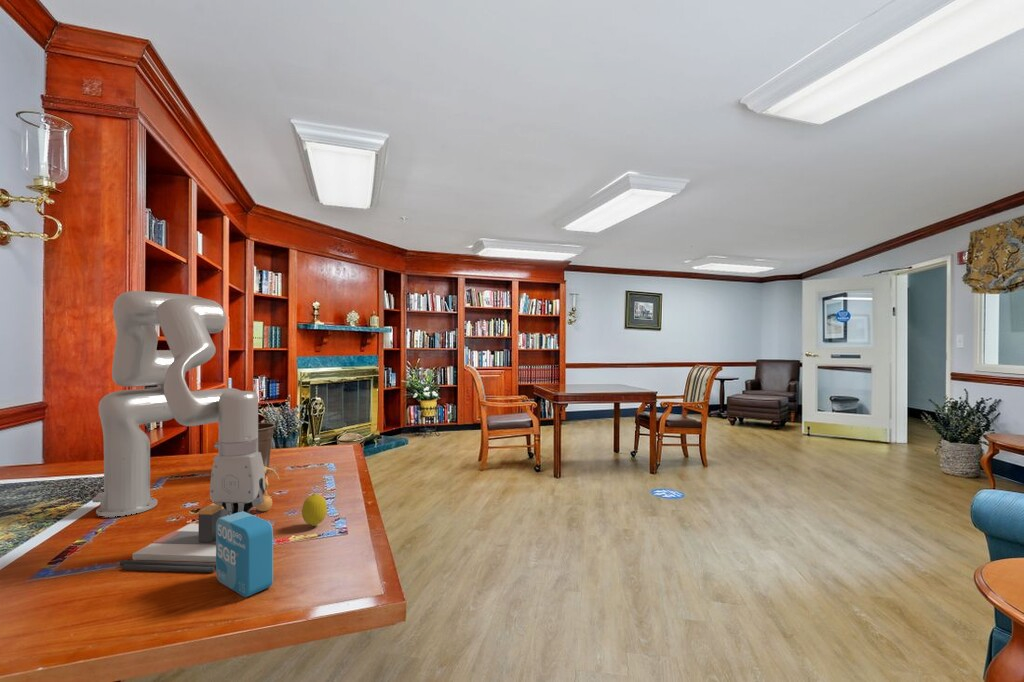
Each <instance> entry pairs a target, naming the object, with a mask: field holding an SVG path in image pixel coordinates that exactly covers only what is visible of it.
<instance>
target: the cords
mask: <svg viewBox="0 0 1024 682" xmlns="http://www.w3.org/2000/svg"><path fill="white" fill-rule="evenodd" d="M119 566H120V567H121V570H123V571H145V572H146V571H148V572H149V571H150V572H151V571H153V572H181V573H207V574H208V573H209V574H213V573H214V572H216V562H196V561H163V560H133V559H131V560H127V559H121V560H120V562H119Z"/></svg>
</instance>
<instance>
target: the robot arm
mask: <svg viewBox="0 0 1024 682" xmlns="http://www.w3.org/2000/svg"><path fill="white" fill-rule="evenodd" d="M112 316H113V321H114V325H115V329H116V330H115V331H116V339H115V344H114V351H113V359H112V366H111V379H112V381H113V383H115V384H116V385H117V386H120V387H124V388H126V387H127V388H133V389H124V390H116V391H113V392H110V393H108V394H105V395H103V397H102V398H101V399H100V401H99V403H98V415H99V419H100V424H101V427H102V435H103V437H102V438H103V439H102V440H103V492H98V493H97V494H96V496H93V498H92V499H91V501H92V503H100V504H99V507H98V508H96V511H95V514H97V515H98V517H99V516H105V517H104V518H108V517H109V518H118V517H117V516H121V517H125V515H127V516H132V515H136V513H137V514H139V513H143V512H147V511H149V510H151V509H153V508H155V507H156V506H157V505H158V499H157V498H154V497H151V443H150V442H151V441H150V437H149V436H148V435H147V434H146V433H145V432H144V431H143V430H142V429H141V428H140V425H145V424H154V423H159V422H160V423H162V422H166V421H170V420H172V419H175V421H176V422H177V423H178V424H179V425H182V426H184V427H194V426H201V425H209V424H213V423H214V424H215V423H218V441H217V442H215V443H214V445H213V447H214V449H217V450H218V454H216V455H214V459H213V463H212V467H211V473H210V483H209V499H210V500H211V501H212V502H213V503H214V504H216V505H219V506H223V507H224V508H225V509H226V510H227V516H228V515H231V514H235V513H238V512H242V511H244V512H246V513H249V512H250V511H251V509H253V507H255V508H256V506H259V505H261V504H263V503H264V499H263V496H264V495H265V487H266V485H265V477H266V475H265V473H264V465H263V460H262V456H261V453H260V452H258V423H259V395H257V393H256V392H254V391H252V390H241V389H238V388H234V387H231V388H230V387H226V388H211V389H203V390H201V389H200V390H192V391H191V390H190V389H189V387H188V384H187V381H186V379H185V378H186V373H187V372H188V371H191V370H193V369H195V368H197V367H200V366H201V365H204V364H205V363H207V362H208V361H210V360H211V359H212V358H214V356H215V354H216V351H217V350H216V348H217V347H216V346H215V344H214V342H213V340H212V338H211V334H218V333H220V332H222V331H223V329H225V326H226V324H227V314H226V311H225V310H224V308H223V306H222V305H221V304H220V303H218V301H215V300H212V299H208V298H204V297H202V296H201V297H200V296H197V295H193V294H192V295H191V294H184V293H183V294H182V293H169V292H161V291H147V290H146V291H145V290H133V291H132V290H131V291H125V292H123V293H121V294H119V295H118V296H117V297H116V298H115V301H114V302H113V309H112ZM154 326H157V327H158V326H159V327H160V329H161V331H162V334H163V336H164V338H165V341H166V343H167V345H168V348H169V349H166V350H165V349H163V350H162V349H159V350H158V349H157V347H158V342H159V335H158V333H157V332H158V331H157V330H156V328H155V327H154ZM151 386H152V387H153V386H157V387H153V388H152V387H151ZM134 387H138V388H136V389H134ZM139 387H150V388H139ZM131 514H132V515H131ZM97 515H96V516H97ZM115 516H116V517H115Z"/></svg>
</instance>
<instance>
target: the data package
mask: <svg viewBox="0 0 1024 682" xmlns="http://www.w3.org/2000/svg"><path fill="white" fill-rule="evenodd" d="M273 529H274V528H273V525H272V523H271V522H270V521H268V520H266V519H263V518H261V517H259V516H256V515H253V514H251V513H249V512H248V513H246V512H244V511H242V512H238V513H235V514H231V515H228V514H227V516H224V517H221V518H219V519H218V520H217V522H216V562H215V563H216V569H215V573H216V574H215V575H216V579H217V580H218V582H219V583H220V584H222V585H224V586H225V587H227V588H228V589H231V590H232V591H234V592H236V593H237V594H238V595H240V596H241V597H243V598H248V597H250V596H252V595H254V594H257V593H259V592H261V591H263V590H264V591H265V590H266V589H268V588H270V587H272V585H273V583H274V530H273Z"/></svg>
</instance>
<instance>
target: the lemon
mask: <svg viewBox="0 0 1024 682" xmlns="http://www.w3.org/2000/svg"><path fill="white" fill-rule="evenodd" d="M301 507H302V508H301V515H302V519H303V521H304V522H305V523H306V524H308V525H310V526H312V527H313V526H315V527H317V526H318V525H319V524H321V523H322V522H323V521H324V519H325V518H326V516H327V511H328V505H327V501H326V499H325V497H323V496H322V495H320V494H317V493H316V492H314V493H312V494H311V495H309V496H307V498H305V500H304V502H303V504H302V506H301Z"/></svg>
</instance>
